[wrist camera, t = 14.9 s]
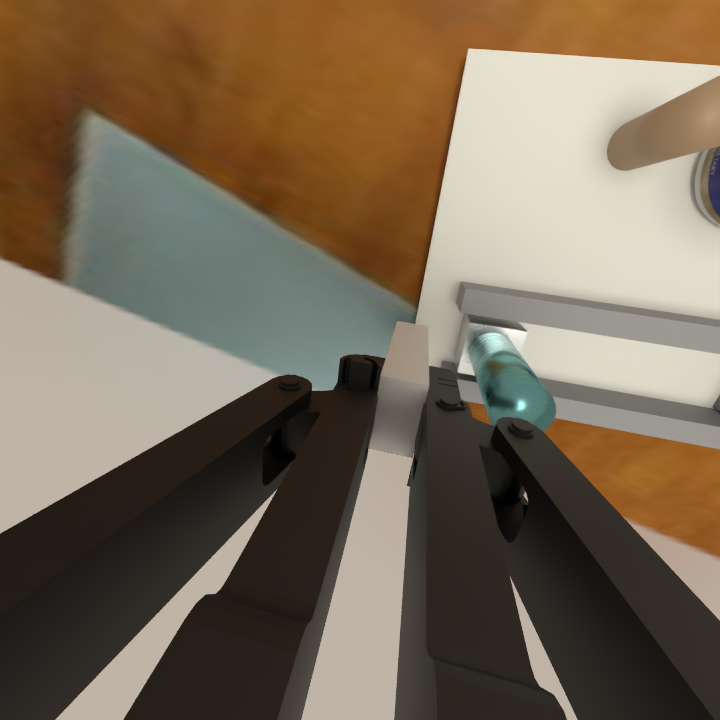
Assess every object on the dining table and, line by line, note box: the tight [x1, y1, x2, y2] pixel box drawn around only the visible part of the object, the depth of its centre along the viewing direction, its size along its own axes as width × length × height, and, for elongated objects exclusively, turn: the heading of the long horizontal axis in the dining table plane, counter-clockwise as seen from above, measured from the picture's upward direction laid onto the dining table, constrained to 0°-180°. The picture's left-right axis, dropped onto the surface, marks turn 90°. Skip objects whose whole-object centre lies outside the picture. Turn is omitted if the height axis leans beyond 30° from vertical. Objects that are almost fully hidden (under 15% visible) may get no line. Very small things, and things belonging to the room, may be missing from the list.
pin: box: [454, 313, 556, 432], centre depth 16 cm, size 3×3×8 cm
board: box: [415, 49, 720, 449], centre depth 15 cm, size 20×16×6 cm
